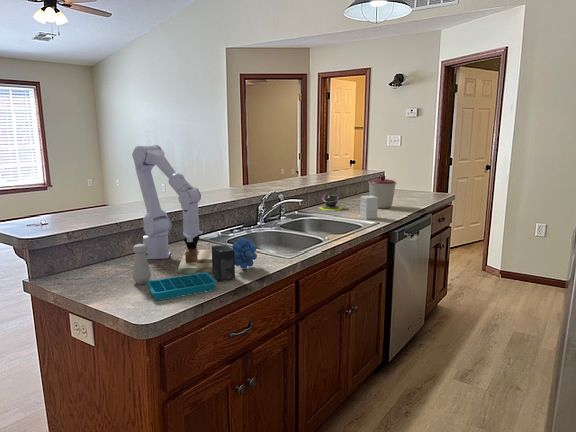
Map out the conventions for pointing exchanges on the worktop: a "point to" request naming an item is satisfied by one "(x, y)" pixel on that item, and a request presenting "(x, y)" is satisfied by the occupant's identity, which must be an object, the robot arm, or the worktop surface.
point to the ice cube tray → (181, 285)
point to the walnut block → (191, 255)
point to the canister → (382, 191)
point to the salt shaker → (141, 265)
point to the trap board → (197, 263)
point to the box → (223, 262)
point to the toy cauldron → (330, 203)
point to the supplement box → (368, 207)
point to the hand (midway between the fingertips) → (192, 255)
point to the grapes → (244, 253)
